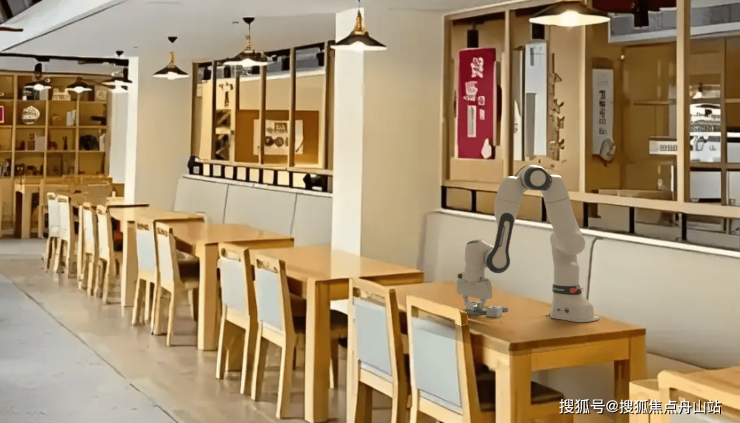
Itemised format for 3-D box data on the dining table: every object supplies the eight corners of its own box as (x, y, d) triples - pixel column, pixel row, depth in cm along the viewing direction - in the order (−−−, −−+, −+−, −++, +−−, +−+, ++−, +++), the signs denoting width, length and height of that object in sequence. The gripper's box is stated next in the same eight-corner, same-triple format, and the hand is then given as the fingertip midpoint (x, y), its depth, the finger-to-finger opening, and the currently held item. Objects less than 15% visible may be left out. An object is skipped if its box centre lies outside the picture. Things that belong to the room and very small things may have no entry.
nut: (502, 318, 383) (502, 306, 383) (496, 319, 379) (497, 308, 379) (491, 316, 386) (492, 305, 386) (486, 318, 382) (486, 307, 382)
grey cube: (482, 313, 387) (482, 302, 387) (473, 314, 384) (473, 303, 384) (474, 311, 391) (474, 300, 391) (466, 312, 388) (466, 301, 388)
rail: (508, 313, 394) (508, 307, 394) (471, 318, 382) (471, 312, 382) (495, 310, 401) (495, 304, 401) (459, 315, 388) (459, 309, 388)
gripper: (495, 278, 380) (495, 309, 381) (464, 272, 397) (464, 302, 398) (485, 279, 376) (484, 311, 377) (454, 274, 393) (453, 304, 394)
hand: (474, 307), depth 388 cm, fingers open, 8 cm apart
